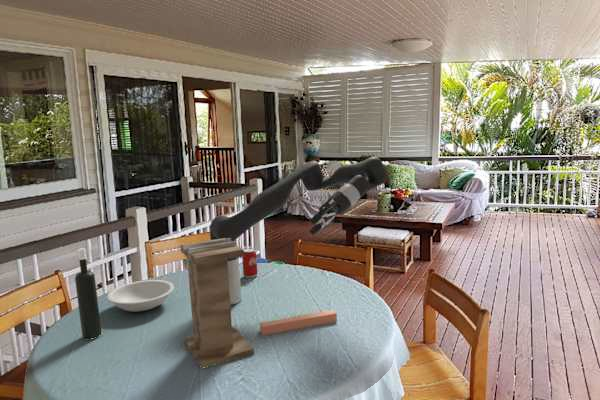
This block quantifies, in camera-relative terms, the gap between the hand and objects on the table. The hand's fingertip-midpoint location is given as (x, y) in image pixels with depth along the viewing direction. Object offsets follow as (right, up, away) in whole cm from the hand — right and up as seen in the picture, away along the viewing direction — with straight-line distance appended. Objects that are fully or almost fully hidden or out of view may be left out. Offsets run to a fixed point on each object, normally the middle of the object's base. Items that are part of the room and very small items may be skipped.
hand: (311, 228), depth 155 cm
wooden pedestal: (-29, -36, -15) cm, 48 cm away
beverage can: (-26, -25, +50) cm, 61 cm away
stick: (-4, -33, -2) cm, 33 cm away
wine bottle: (-73, -36, -4) cm, 81 cm away
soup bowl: (-64, -31, +19) cm, 74 cm away
